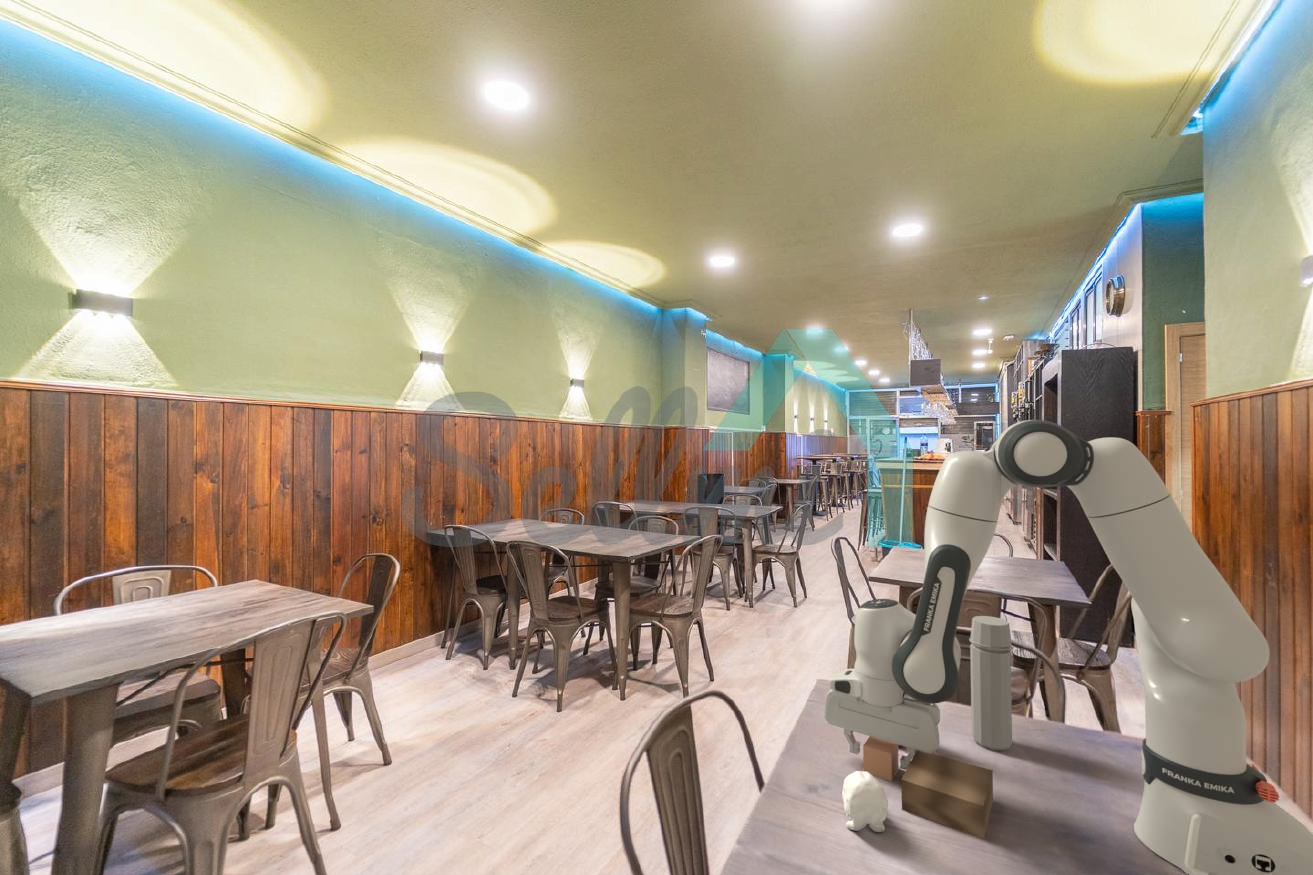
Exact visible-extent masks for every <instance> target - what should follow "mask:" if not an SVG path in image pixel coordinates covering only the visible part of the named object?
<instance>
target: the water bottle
mask: <svg viewBox="0 0 1313 875" xmlns="http://www.w3.org/2000/svg"><path fill="white" fill-rule="evenodd" d="M970 629H971V630H970V637H969V639H968V640H969V642H970V643H971V644H970V646H969V650H970V653H969V654H970V702H971V703H970V706H971V708H970V710H971V712H970V714H971V716H970V718H971V737H972V738H973V740H974V742H976V744H978V745H980V746H981V747H983V748H986V749H989V750H992V751H999V752H1000V751H1006V750H1009V749H1010V747H1012V745H1013V717H1012V716H1013V713H1012V712H1013V709H1012V708H1013V707H1012V656H1011V655H1012V651H1013V650H1014V647H1013V646H1012V645H1013V642H1012V636H1011V628H1010V622H1009V621H1008V620H1006V619H1003V618H1000V617H995V616H990V615H976V616H974V617H972V619H971V628H970Z"/></svg>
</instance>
